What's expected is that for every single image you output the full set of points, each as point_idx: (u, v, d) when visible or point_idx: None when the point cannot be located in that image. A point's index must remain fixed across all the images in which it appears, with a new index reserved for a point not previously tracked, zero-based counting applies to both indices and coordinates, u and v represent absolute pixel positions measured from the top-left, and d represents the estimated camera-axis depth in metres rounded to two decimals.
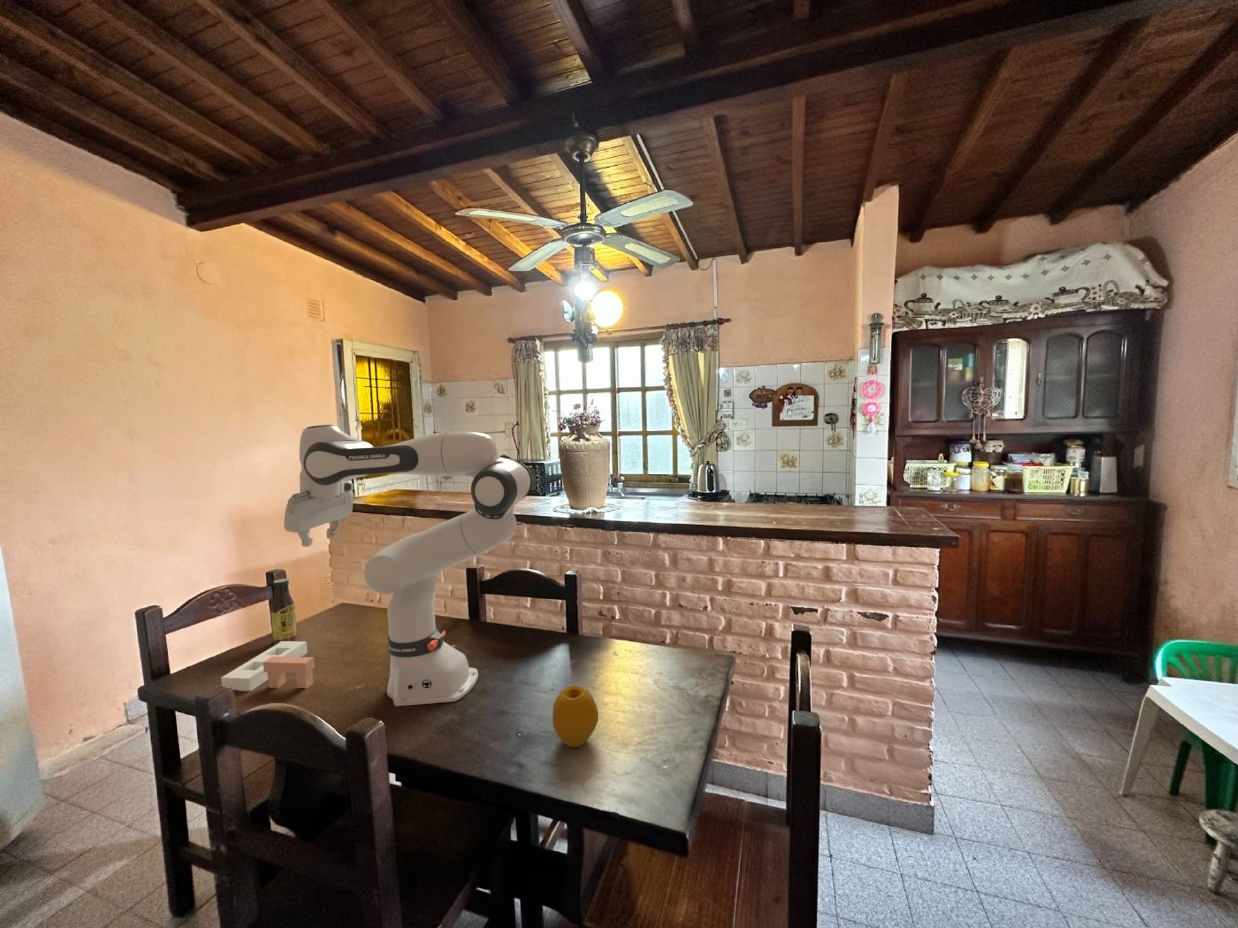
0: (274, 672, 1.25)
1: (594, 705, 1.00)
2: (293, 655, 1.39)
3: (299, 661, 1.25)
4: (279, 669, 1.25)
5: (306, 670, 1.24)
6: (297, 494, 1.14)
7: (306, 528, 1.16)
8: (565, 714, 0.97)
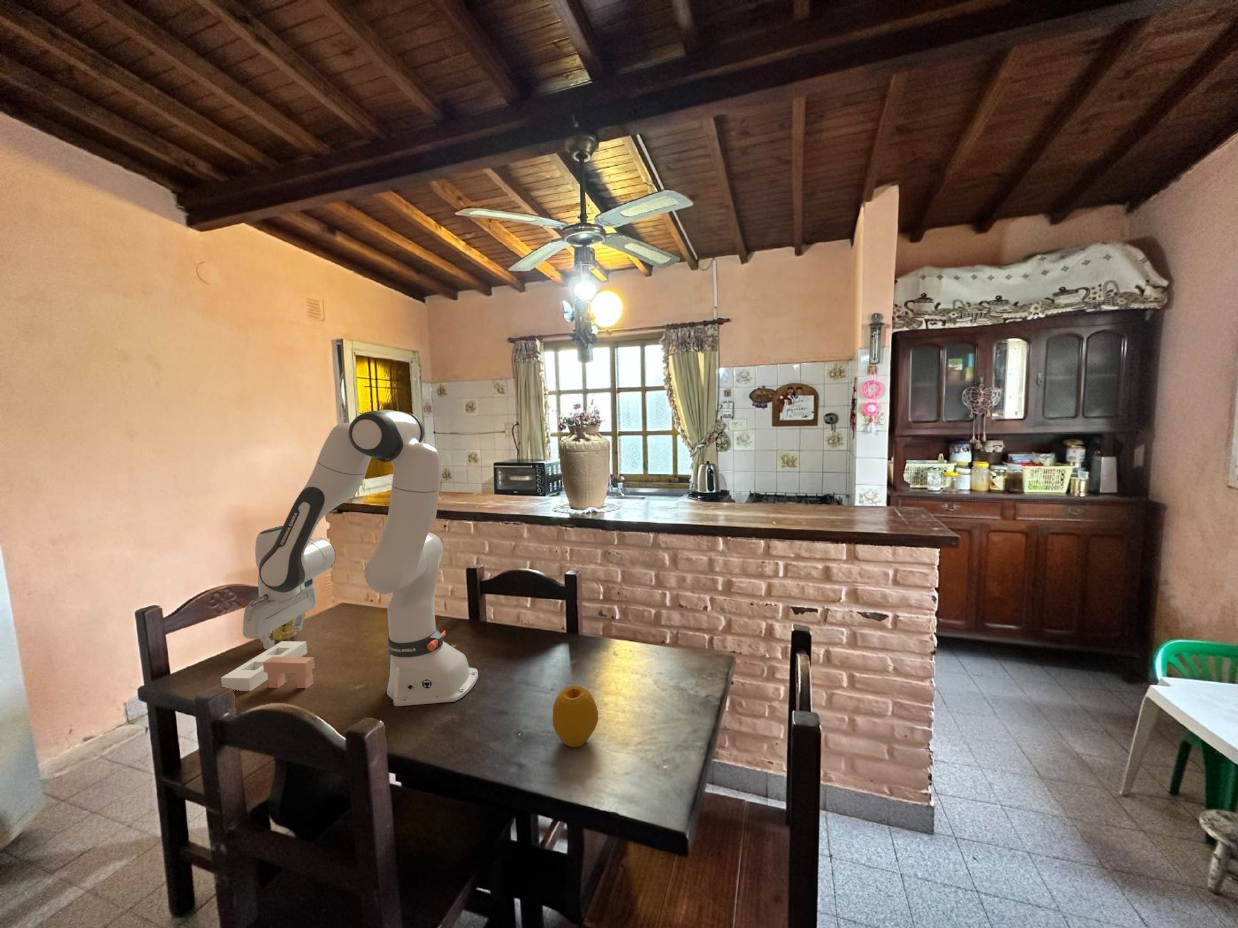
0: (274, 672, 1.25)
1: (594, 705, 1.00)
2: (293, 655, 1.39)
3: (299, 661, 1.25)
4: (279, 669, 1.25)
5: (306, 670, 1.24)
6: (254, 601, 1.16)
7: (266, 632, 1.18)
8: (565, 714, 0.97)
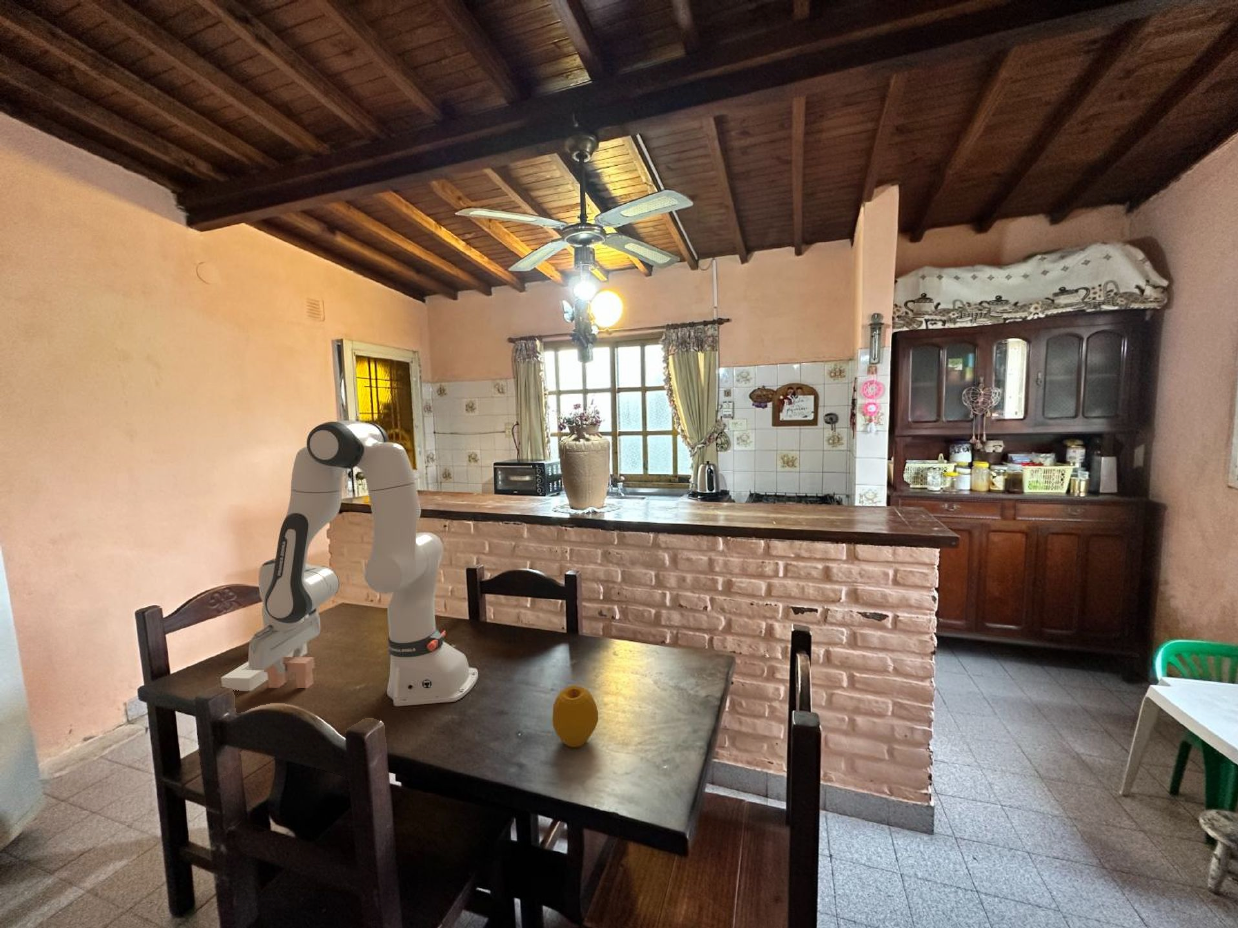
0: (274, 672, 1.25)
1: (594, 705, 1.00)
2: None
3: (299, 661, 1.25)
4: None
5: (306, 670, 1.24)
6: (259, 632, 1.17)
7: (271, 663, 1.18)
8: (565, 714, 0.97)
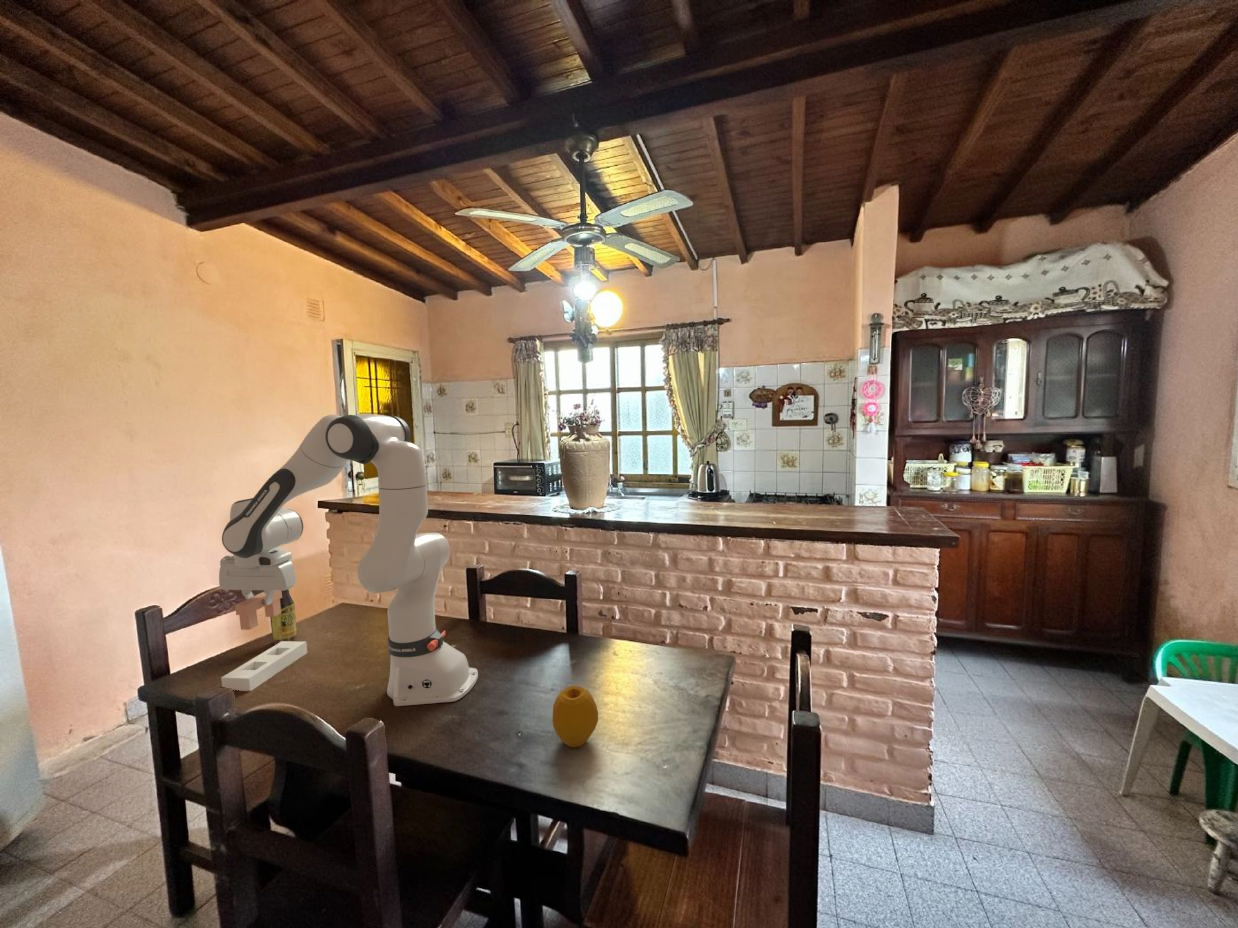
0: None
1: (594, 705, 1.00)
2: (293, 655, 1.39)
3: (245, 601, 1.29)
4: None
5: (236, 612, 1.27)
6: (226, 556, 1.32)
7: (228, 588, 1.31)
8: (565, 714, 0.97)
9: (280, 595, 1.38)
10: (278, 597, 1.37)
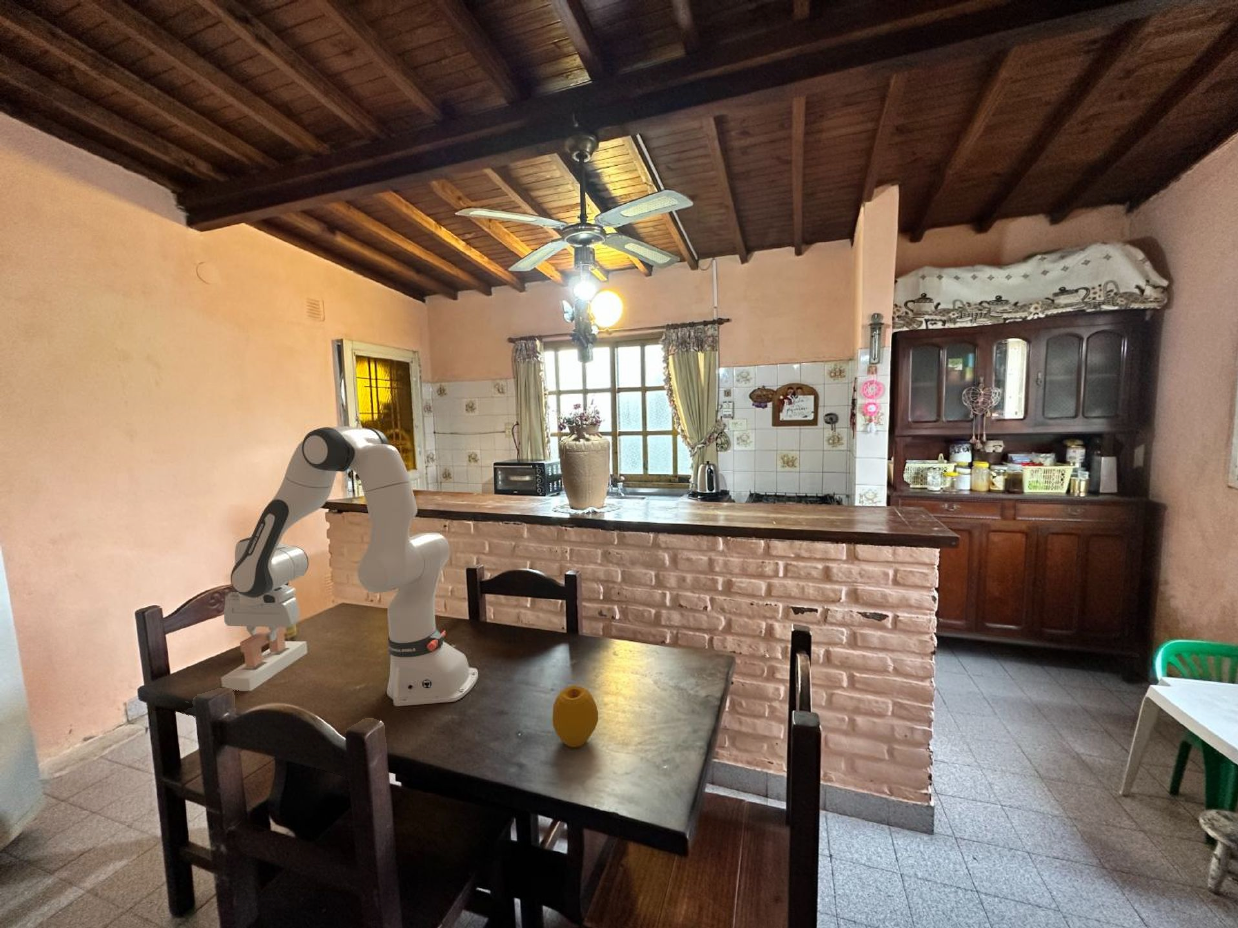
0: None
1: (594, 705, 1.00)
2: (293, 655, 1.39)
3: (250, 638, 1.30)
4: None
5: (241, 649, 1.28)
6: (231, 593, 1.33)
7: (233, 624, 1.32)
8: (565, 714, 0.97)
9: (284, 630, 1.39)
10: (282, 632, 1.39)
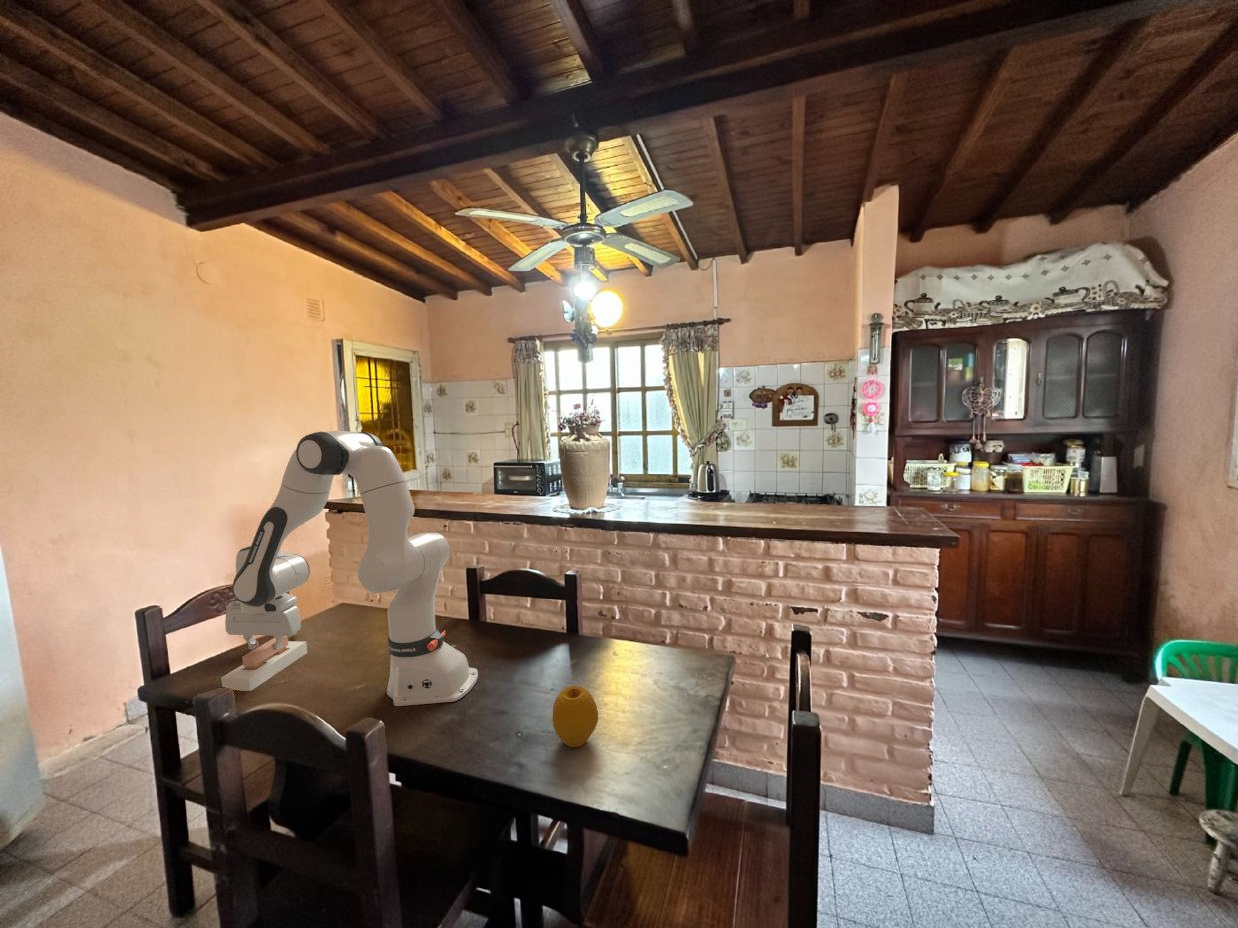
0: None
1: (594, 705, 1.00)
2: (293, 655, 1.39)
3: (252, 652, 1.31)
4: None
5: (243, 663, 1.29)
6: (232, 602, 1.33)
7: (234, 633, 1.33)
8: (565, 714, 0.97)
9: (286, 643, 1.40)
10: (284, 645, 1.39)
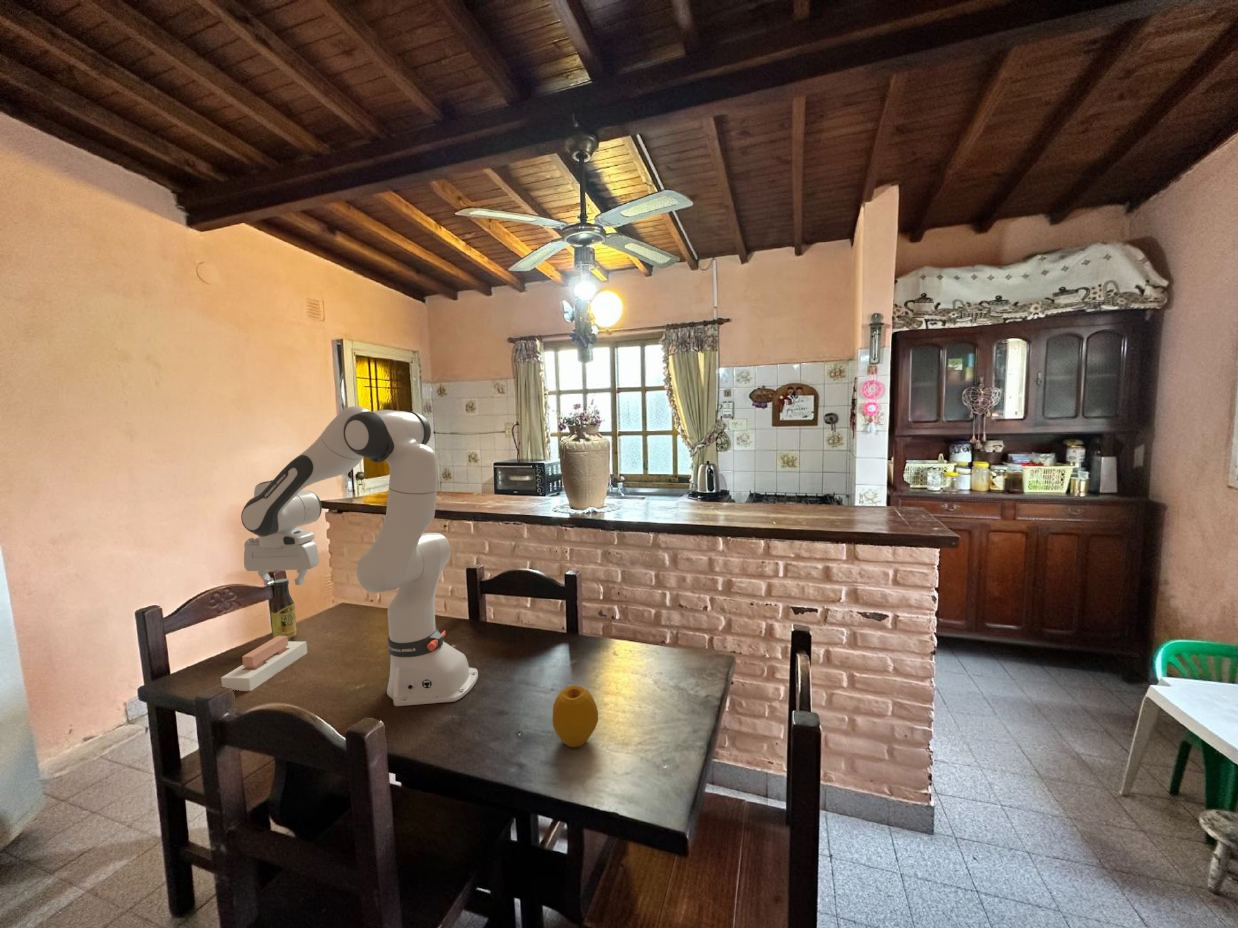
0: None
1: (594, 705, 1.00)
2: (293, 655, 1.39)
3: (252, 652, 1.31)
4: None
5: (243, 663, 1.29)
6: (250, 539, 1.35)
7: (253, 569, 1.34)
8: (565, 714, 0.97)
9: (286, 643, 1.40)
10: (284, 645, 1.39)
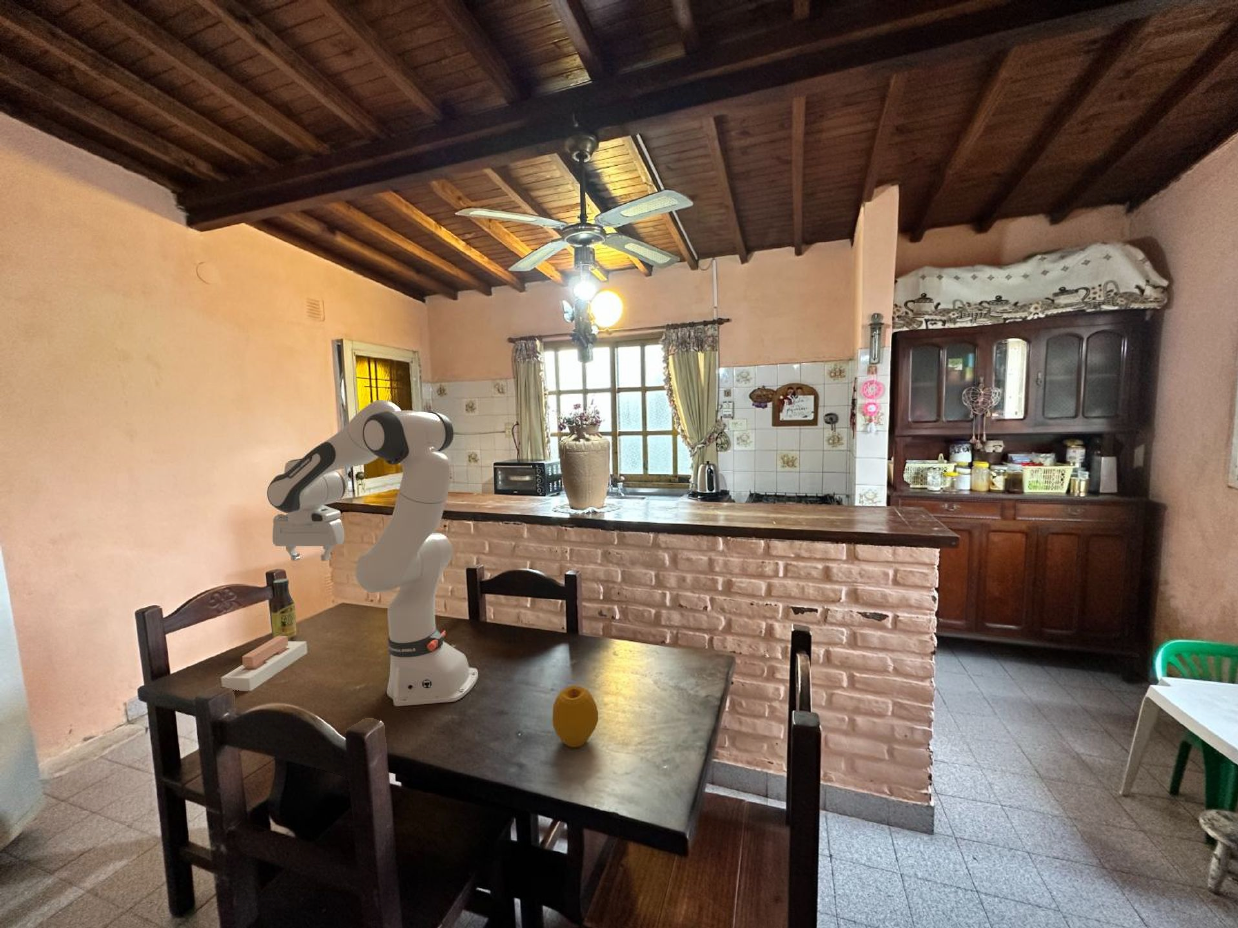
0: None
1: (594, 705, 1.00)
2: (293, 655, 1.39)
3: (252, 652, 1.31)
4: None
5: (243, 663, 1.29)
6: (279, 515, 1.39)
7: (281, 544, 1.38)
8: (565, 714, 0.97)
9: (286, 643, 1.40)
10: (284, 645, 1.39)
